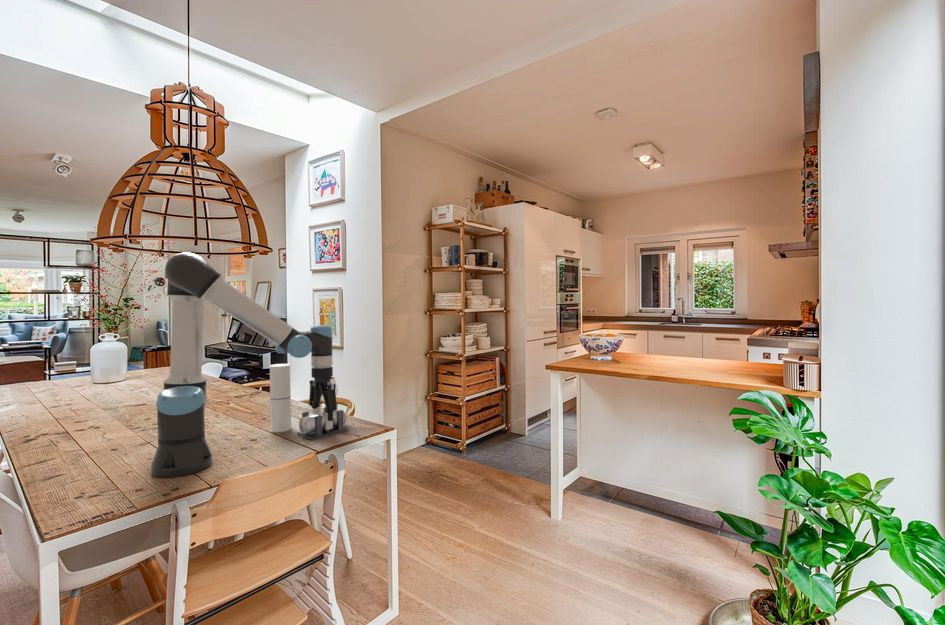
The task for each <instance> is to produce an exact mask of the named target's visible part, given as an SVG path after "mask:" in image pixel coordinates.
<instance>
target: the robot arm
mask: <svg viewBox="0 0 945 625" xmlns="http://www.w3.org/2000/svg"><path fill="white" fill-rule="evenodd" d="M164 274H165V276H166V277H165V278H166V280H167V287H166V288H167V292H166V293H167V294H166V297H168V298H169V299H170V300H171V301H172V308H171V309H172V310H171V311H172V313H171V333H170V334H171V338H170V339H171V341H170V364H169V370H170V371H169V376H168V377H167V378H166V379H164V381H163V390H162V391H161V392H159V394H158V395H157V396H156V397H157V398H156V402H155V406H156V409H157V412H156V413H157V415H156V418H157V447H156V451H155V454H154V457H153V459H152V462H151V465H150V466H151V467H150V470H151V471H150V472H151V473H150V474H151V475H152V476H153V477H155V478H156V477H157V478H175V477H182V476H187V475H192V474H194V473H197V472H200V471H203V470H206V469H207V468H209V467H210V466H211V465H212V464H213V453H212V452H211V449H210V447H209V445H208V442H207V440H206V432H205V431H206V428H205V427H206V424H205V423H206V422H205V419H206V418H205V411H206V409H205V408H206V405H207V401H208V399H207V398H208V396H207V378H206V377H205V376H203V374H202V367H203V366H202V364H203V343H204V340H203V339H204V318H205V317H204V316H205V315H204V314H205V302H206V301H209V302H210V303H211V304H213V305H214V306H216V307H217V308H219V309H221V310H222V311H224V312H225V313H226V314H228V315H230V316H231V317H232V318H234V319H236V320H238V321H239V322H241V323H242V324H244V325H245V326H247V327H248V328H249V329H251V330H252V331H254V332H256V333H257V334H259V335H260V336H262V337H264V338H265V339H267V340H268V341H270V343H271V342H272V343H273V344H275V351H276V353H277V354H289V355H290V356H292V357H293V358H296V359H302V358H306V357H307V356H309V355H310V357H311V358H310V359H311V362H310V364H311V378H313V379H312V380H309V401H308V406H309V407H311V409H312V415H317V414H321V413H322V412H321V410H322V409H321V401H322V400H321V395H323V398H324V402H325V403H324V402H323V403H324V406H325V407H326V411H325V430H329V429H333V411H336V410H338V406H337V405H338V404H337V395H336V394H335V387H336V385H337V383H336V384H332V383H331V382H330V377H333V375H334V371H333V370H334V369H333V329H332V327H331V326H330V325H327V324H325V325H324V324H323V325H320V324H317V325H312V326H311V327H310V330H308V331H298V330H297V329H296V328H294V327H292V325H289V324H288V323H286V322H285V320H282V319H281V318H280V317H278V316H277V315H275V314H274V313H272V312H271V311H270V310H268V309H266V308H265V307H263V306H262V305H261V304H259V303H258V302H256V301H255V300H254V299H252V298H251V297H249V296H248V295H246V294H245V293H243V292H242V291H240V290H239V289H238V288H236V287H234V286H233V285H232V284H230V283H228V281H226V280H225V279H224V275H223V274H221V272H219V271H217V270H216V269H215V268H214V267H212V266H211V264H209V263H208V262H207V261H206V260H205V259H204V258H203V257H202V256H200V255H198V254H196V253H192V252H181V253H179V252H178V253H176V254H174V255H173V256H171V257H170V258H169V259H168V261H167V262H166V264H165V267H164ZM310 353H311V354H310ZM326 391H327V392H326Z"/></svg>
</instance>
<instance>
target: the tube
mask: <svg viewBox="0 0 945 625" xmlns="http://www.w3.org/2000/svg"><path fill="white" fill-rule="evenodd" d="M340 410H341V409H337V410H335V411H333V427H337V411H340ZM319 415H321V416H322V430H325V413H324V412H321V414H317V415H313V414H312V415H309V416H307V417H302V416H301V418H300V419H299V422H298V423H299V424H298V426H299V430H300V431H301V432H302V434H308V433H312V432H315V416H319ZM346 422H347V414H346V412H345V411H344V410H343V426H344V425H346ZM300 431H299V432H300Z"/></svg>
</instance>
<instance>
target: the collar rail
mask: <svg viewBox="0 0 945 625" xmlns="http://www.w3.org/2000/svg"><path fill="white" fill-rule="evenodd" d="M339 410H340V411H337V427H333V429H329V430H322V416H321V415H319V416H315V432H312V433H308V434H302V432H301V431H297V436H299V437H302V438H305V439H307V440H310V441H314V440H319V439H321V438H325V437H329V436H332V435H336V434H339V433H343V432H346V431H349V427H348V426H347V427H346V426H344V425H343V411H344V409H339ZM325 411H326V407H323V413H325ZM307 416H310V411H308V410H307V411H303V412H301V418H302V417H307Z"/></svg>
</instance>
